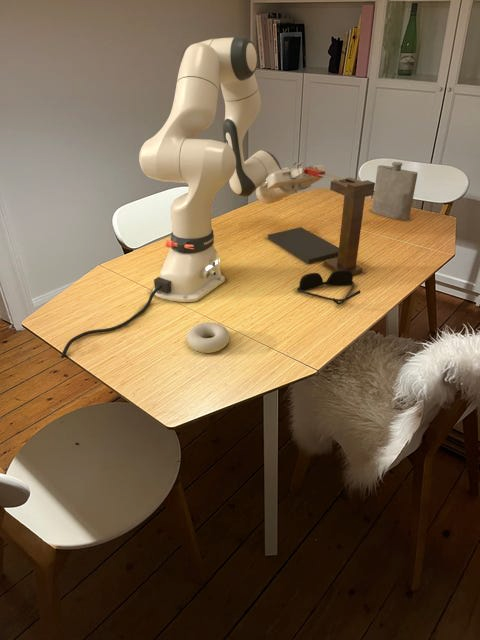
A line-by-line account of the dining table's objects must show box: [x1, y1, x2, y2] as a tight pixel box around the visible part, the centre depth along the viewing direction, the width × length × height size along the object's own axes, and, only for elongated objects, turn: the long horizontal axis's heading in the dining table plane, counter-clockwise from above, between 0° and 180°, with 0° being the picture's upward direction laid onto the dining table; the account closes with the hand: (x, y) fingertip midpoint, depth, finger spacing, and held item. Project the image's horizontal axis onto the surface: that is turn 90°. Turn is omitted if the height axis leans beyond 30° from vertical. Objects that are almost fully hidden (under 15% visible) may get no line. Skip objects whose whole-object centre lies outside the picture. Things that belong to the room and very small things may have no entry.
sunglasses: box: [297, 270, 361, 306], centre depth 126 cm, size 17×14×5 cm
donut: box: [186, 321, 230, 354], centre depth 109 cm, size 10×4×10 cm
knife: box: [304, 166, 346, 181], centre depth 139 cm, size 18×3×2 cm, turn 29°
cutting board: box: [267, 226, 339, 265], centre depth 157 cm, size 24×14×2 cm, turn 29°
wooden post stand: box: [322, 177, 376, 276], centre depth 135 cm, size 10×7×27 cm
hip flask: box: [371, 161, 419, 222], centre depth 176 cm, size 16×4×20 cm, turn 44°
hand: (308, 169), depth 144 cm, fingers closed on knife, 2 cm apart
